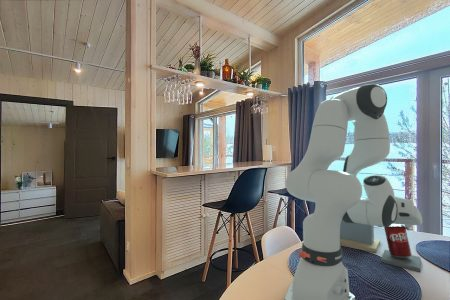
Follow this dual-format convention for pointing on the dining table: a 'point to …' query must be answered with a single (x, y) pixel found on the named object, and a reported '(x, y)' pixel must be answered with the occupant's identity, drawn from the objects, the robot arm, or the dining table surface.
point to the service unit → (358, 236)
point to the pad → (402, 261)
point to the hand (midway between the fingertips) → (393, 226)
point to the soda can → (398, 241)
